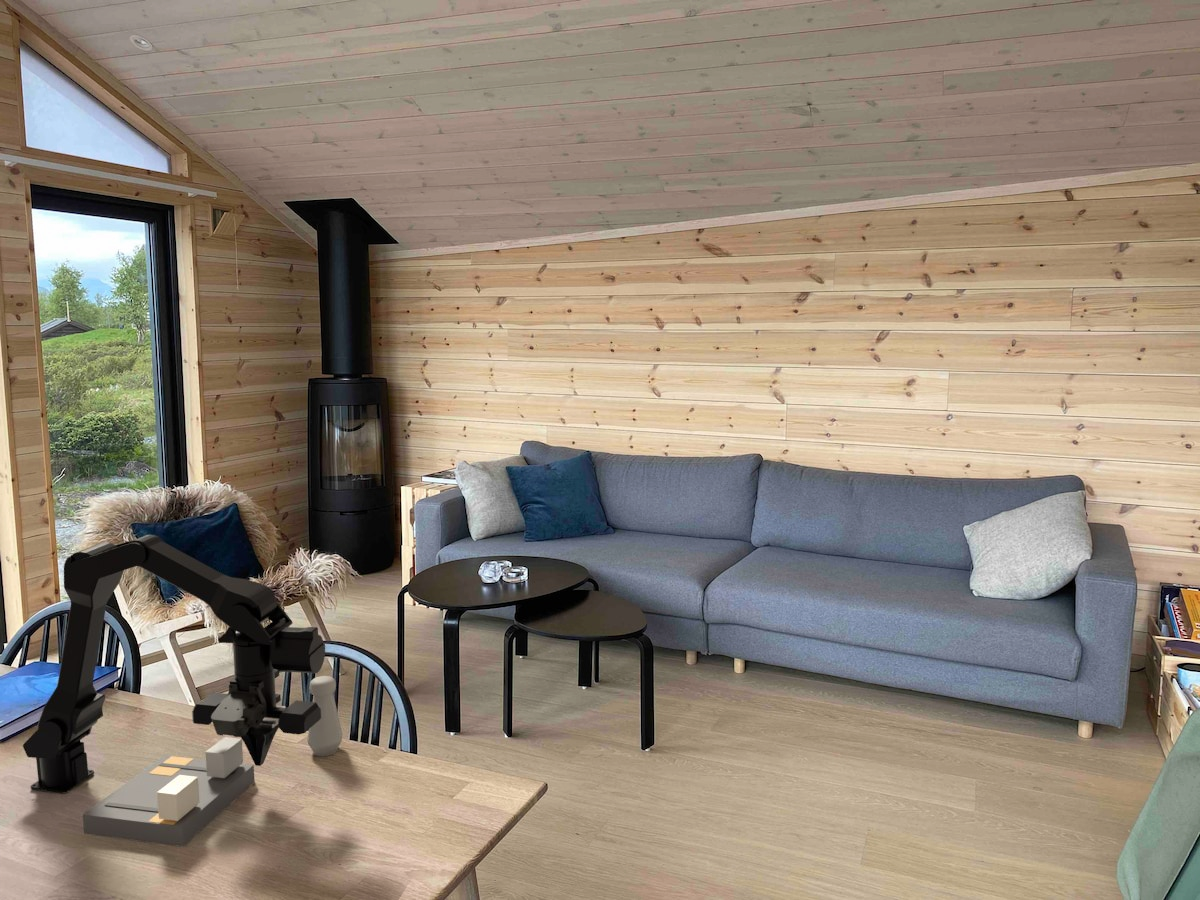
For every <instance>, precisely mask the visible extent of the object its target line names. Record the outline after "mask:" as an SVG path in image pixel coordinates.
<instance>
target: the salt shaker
mask: <svg viewBox="0 0 1200 900" xmlns="http://www.w3.org/2000/svg"><path fill="white" fill-rule="evenodd" d="M336 687H337V682H336V679H335V678H333V677H332V676H330V675H321V676H317V677H314V678H313V679H312V680H310V682H309V692H310V694H311V695H313V696H312V702H316V703H317V704H318V705H319V706H320V708H321V719H320V720H319V721H318V722H317V723H315V724H314V725H313V726H312V727H311V728H310V729H309V730H308V732H307V745H308V746H309V748H310V749H311V750H312V751H313V754H314V755H315V756H316V757H317V756H318V757H328V756H331V755H334V754H335V755H336V753H337V751H338V749H339V747H340V745H341V743H342V740H343V730H342V726H341V721H340V717H339V714H338V708H337V704H336V699H335V696H334V692H336V689H337V688H336Z"/></svg>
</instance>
